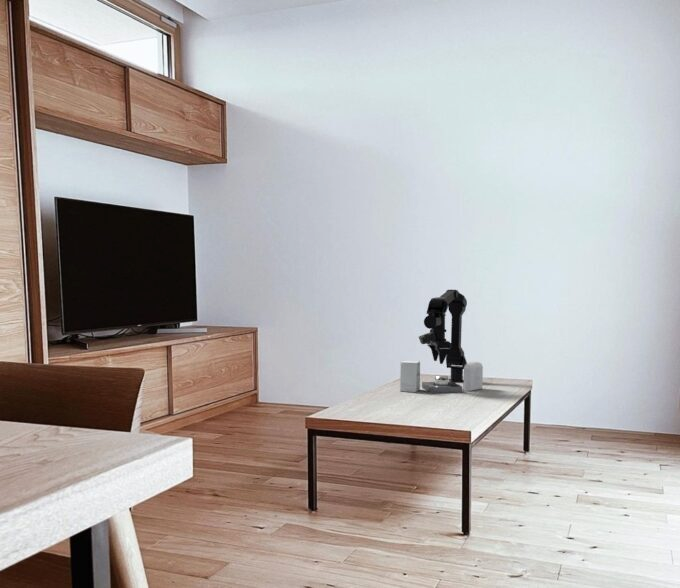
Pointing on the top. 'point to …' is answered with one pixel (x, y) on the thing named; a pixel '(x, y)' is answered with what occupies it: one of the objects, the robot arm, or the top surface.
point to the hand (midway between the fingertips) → (438, 362)
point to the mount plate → (442, 388)
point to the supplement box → (410, 376)
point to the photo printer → (473, 376)
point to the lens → (441, 380)
